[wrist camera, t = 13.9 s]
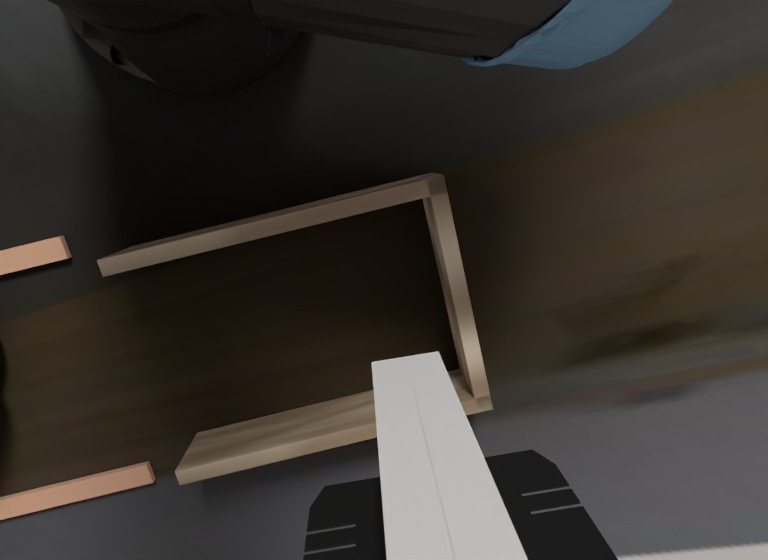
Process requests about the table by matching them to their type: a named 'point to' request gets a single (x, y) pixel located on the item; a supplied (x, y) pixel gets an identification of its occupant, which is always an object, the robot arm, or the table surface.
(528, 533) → the robot arm
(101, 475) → the terracotta bay
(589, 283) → the table surface
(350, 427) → the frame
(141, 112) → the table surface
